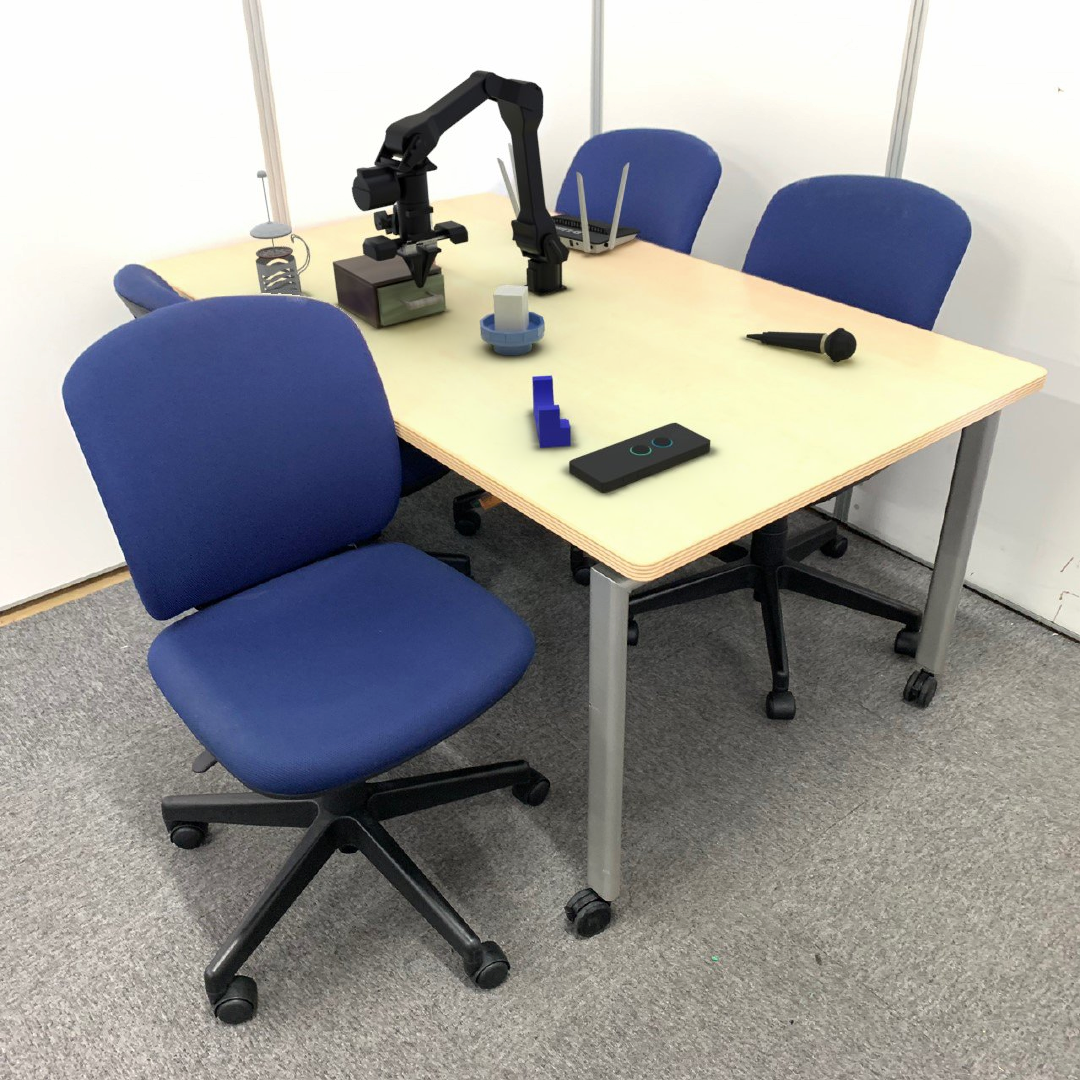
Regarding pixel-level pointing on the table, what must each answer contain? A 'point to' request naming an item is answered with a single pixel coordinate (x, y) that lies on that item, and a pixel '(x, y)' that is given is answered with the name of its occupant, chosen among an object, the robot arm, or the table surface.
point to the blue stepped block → (548, 415)
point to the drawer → (410, 299)
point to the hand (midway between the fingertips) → (420, 287)
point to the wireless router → (581, 219)
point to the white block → (511, 308)
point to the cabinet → (369, 284)
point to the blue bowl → (512, 335)
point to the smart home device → (638, 457)
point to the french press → (277, 257)
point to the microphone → (813, 342)
